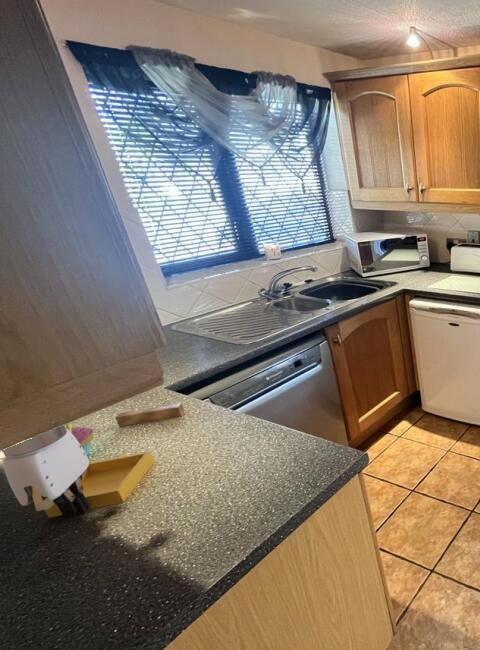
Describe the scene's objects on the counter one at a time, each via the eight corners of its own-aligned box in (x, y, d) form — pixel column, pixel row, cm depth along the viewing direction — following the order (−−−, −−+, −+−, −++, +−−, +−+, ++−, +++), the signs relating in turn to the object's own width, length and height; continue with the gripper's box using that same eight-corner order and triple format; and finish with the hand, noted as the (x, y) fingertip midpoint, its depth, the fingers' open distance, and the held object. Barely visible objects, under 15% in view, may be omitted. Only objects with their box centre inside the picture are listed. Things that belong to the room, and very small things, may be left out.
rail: (119, 426, 102) (114, 417, 101) (123, 422, 104) (119, 413, 103) (181, 416, 106) (178, 407, 105) (184, 412, 108) (181, 403, 106)
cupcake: (102, 440, 97) (83, 400, 93) (98, 458, 91) (76, 416, 86) (52, 456, 92) (29, 414, 87) (44, 476, 86) (18, 433, 81)
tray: (48, 518, 75) (41, 506, 74) (89, 474, 86) (84, 463, 85) (123, 502, 79) (117, 490, 78) (154, 461, 89) (149, 451, 88)
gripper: (41, 416, 74) (81, 489, 81) (-35, 471, 61) (20, 553, 67) (89, 409, 76) (124, 480, 83) (26, 461, 63) (74, 540, 69)
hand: (77, 512), depth 75 cm, fingers closed
